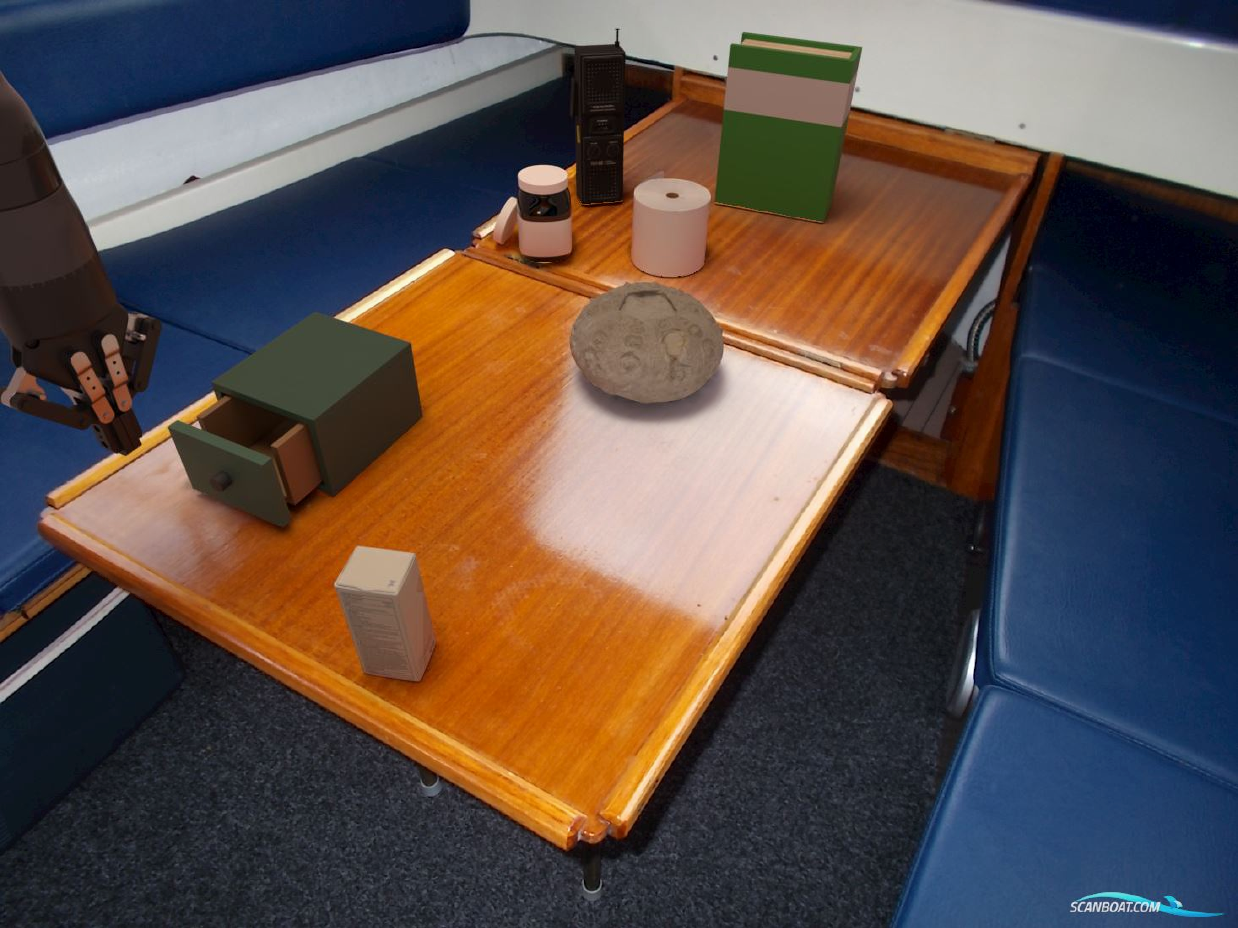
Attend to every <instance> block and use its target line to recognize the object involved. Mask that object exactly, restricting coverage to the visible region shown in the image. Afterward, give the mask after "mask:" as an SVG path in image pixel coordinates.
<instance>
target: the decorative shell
mask: <svg viewBox="0 0 1238 928" xmlns="http://www.w3.org/2000/svg"><path fill="white" fill-rule="evenodd" d="M723 334H724V328H723V327H721V326H720V325H718V324H717V319H715V317H714V315H713V313H712V312H711V311H709V309H708V308H707V307H705V306H704V305H703V303H702V302H701V300H699V299H697V298H696V297H694V296H692V294H690V293H687V292H686V291H684V290H681V289H677V288H675V287H672V286H667V285H665V284H660V283H658V281H656V280H655V281H654V282H650V281H642V282H641V281H637V282H634V283H633V282H632V283H630V282H629V281H625V282H624V284H623V285H619V286H616V287H615V288H612V289H609V290H608V291H606V292H602V293H600V294H599V295H597V297H593V296H592V297H591V296H590V300H589V303H587V304H586V305H585V306H584V307H583V308H582V309H581V311H580V312H579V314H578V316H577V317H576V319H575V320H574V322H573V324H572V327H571V330H570V333H569V349H570V352H571V356H572V358H573V360H574V363H575V364H576V366H577V367H578V369H579V370H580V371H581V372H582V374H583V375H584V377H585V378H586V379H587V380H588V382H590V383H591V384H592V385H594V386H595V387H597V388H598V389H600V390H601V391H603V392H605V393H606V394H608V395H616V396H618V397H622V398H625V399H628V400H631V401H634V402H637V403H640V404H647V405H648V404H653V403H668V402H671V401H672V402H673V401H678V400H683V399H684V398H685V399H686V398H687V397H689V396H691V395H692V394H694V393H695V392H697V391H699V390H700V389H701V388H702V387H703V386H704V385H705V384H706V383H707V382H708V381H709V380H710V378H712V377H713V376H714V375H715V373H716V372H717V371H718V368H719V366H720V365H721V362H722V360H723V356H724V352H725V351H724V350H725V349H724V348H725V346H724V343H725V341H724V339H723Z"/></svg>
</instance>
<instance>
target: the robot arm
mask: <svg viewBox="0 0 1238 928" xmlns="http://www.w3.org/2000/svg"><path fill="white" fill-rule="evenodd" d="M84 217H85V216H84V215H83V213H82V210H81V209H80V207H79V205H78V204H77V201H76V200H75V198H74V197H73V195H72V194H71V192H70V190H69V188H68V187H67V185H66V183H65V180H64V179H63V177H62V174H61V171H60V170H59V167H58V165H57V162H56V160H55V157H54V155H53V153H52V151H51V148H50V145H49V144H48V141H47V139H46V137H45V135H44V132H43V130H42V128H41V126H40V124H39V122H38V119H37V118H36V116H35V114H34V112H33V111H32V109H31V107H30V106H29V104H28V103H27V102H26V101H25V99H24V98H23V97H22V96H21V95H20V93H18V91H17V90H15V88H14V87H13V86H12V85H11V84H10V83H9V82H8V80H7V79H6V77H5V76H4V74H3V72H2V71H1V70H0V330H1V331H2V333H3V334H4V335H5V337H6V338H7V340H8V342H9V345H10V360H11V363H12V365H13V366H14V367H15V368H16V370H15V371H14V374H13V375H12V378H11V379H10V381H9V384H8V386H5V385H3V386H0V404H2V405H5V406H7V407H9V408H12V409H14V410H16V411H19V412H21V413H23V414H26V415H30V416H33V417H37V418H40V419H44V420H46V421H50V422H53V423H56V424H60V425H63V426H66V427H69V428H72V429H76V430H79V431H87V429H89V428H91V430H92V432H93V434H94V436H95V438H96V440H97V442H98V444H99V445H100V447H101V448H103V449H105V450H107V451H109V452H111V453H114V454H116V455H118V454H119V455H122V456H123V457H127V456H129V455H130V454H132V453H133V452H135V451H136V450H137V449H139V448H140V447H141V446H143V445H142V444H143V443H142V441H141V438H142V437H143V430H142V427H141V425H140V423H139V421H138V418H137V416H136V414H135V412H134V410H133V399H134V397H136V396H137V394H138V393H144V392H145V391H146V390H147V389H148V387H149V383H150V378H151V374H152V370H153V366H154V363H155V359H156V358H155V357H156V353H157V349H158V345H159V341H160V337H161V332H162V329H163V323H162V321H161V320H160V319H158V318H155V317H153V316H149V315H146V314H145V313H141V312H137V311H135V310H134V311H130V312H128V310H127V308H125V307H124V306H123V305H122V304H121V303H119V302H118V301H117V300H118V299H117V292H116V291H115V288H114V286H113V284H112V281H111V279H110V276H109V275H108V272H107V269H106V267H105V265H104V262H103V260H102V258H101V255H100V253H99V250H98V248H97V245H96V243H95V241H94V239H93V236H92V234H91V231H90V227H89V225H88V223H87V222H86V220H85V218H84ZM37 379H40V380H42V381H45V382H46V383H50V384H53V386H57V387H59V388H60V389H61V391H62V392H63V393H65V394H66V395H67V396H68V397H69V399H70V400H71V402H72V403H73V405H69V406H67V405H63V404H61V403H57V402H55V401H51V400H49V399H47V395H46V392H45V389H44V388H43V387H41V386H40V385H39V384H38V383H37Z"/></svg>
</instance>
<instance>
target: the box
mask: <svg viewBox="0 0 1238 928" xmlns="http://www.w3.org/2000/svg"><path fill="white" fill-rule="evenodd" d="M333 587H334V589H335V591H336V595H337V597H338V601H339V604H340V606H341V609H342V613H343V615H344V619H345V621H346V624H347V627H348V630H349V633H350V636H351V639H352V642H353V644H354V648H355V651H356V654H357V657H358V660H359V664H360V666H361V669H362V672H363V674H367V675H371V676H377V677H382V678H391V679H396V680H402V681H411V682H419V683H420V681H421V680H422V678H423V676H424V673H425V672H426V670H427V667H428V665H429V663H430V660H431V657H432V655H433V652H434V649H435V647H436V644H437V637H436V635H435V630H434V626H433V621H432V618H431V613H430V609H429V604H428V601H427V597H426V592H425V588H424V584H423V579H422V575H421V570H420V566H419V562H418V559H417V554H416V553H414V552H410V551H409V552H408V551H401V550H395V549H388V548H380V547H372V546H365V545H356V547H355V548H354V550H353V551H352V553H351V554H350V556H349V558H348V560H347V561H346V563H345V564H344V566H343V568H342V570H341V571H340V573H339V575H338V577H337V578H336V580H335V581H334V584H333Z"/></svg>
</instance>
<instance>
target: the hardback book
mask: <svg viewBox="0 0 1238 928" xmlns="http://www.w3.org/2000/svg"><path fill="white" fill-rule="evenodd" d="M862 51H863V46H858V45H850V44H842V43H834V42H828V41H827V42H826V41H818V40H810V39H803V38H796V37H795V38H794V37H787V36H779V35H772V34H763V33H756V32H747V31H742V32H741V39H740V43H733V42H731V44H730V45H729V54H728V62H727V64H728V65H727V74H726V82H725V83H726V84H725V95H724V103H723V113H722V114H723V115H722V123H721V132H720V142H719V143H720V144H719V152H718V162H717V173H716V180H715V181H716V182H715V191H714V192H715V193H714V202H718V203H723V204H727V205H732V206H741V207H745V208H750V209H754V210H758V211H768V212H772V213H777V214H782V215H786V216H791V217H800V218H805V219H810V220H816V221H821V222H823V221H824V219H825V220H826V218H827V216H828V214H829V212H830V210H829V208H830V209H831V207H832V205H831V204H833V200H834V194H835V189H836V184H837V179H838V174H839V169H840V163H841V158H842V153H843V148H844V143H845V139H846V134H847V128H848V124H849V118H850V112H851V108H852V103H853V97H854V92H855V86H856V81H857V77H858V72H859V68H860V62H861V56H862ZM714 202H713V203H714ZM830 206H831V207H830ZM828 211H829V212H828ZM827 213H828V214H827ZM826 215H827V216H826ZM825 217H826V218H825ZM824 222H825V221H824Z"/></svg>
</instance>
